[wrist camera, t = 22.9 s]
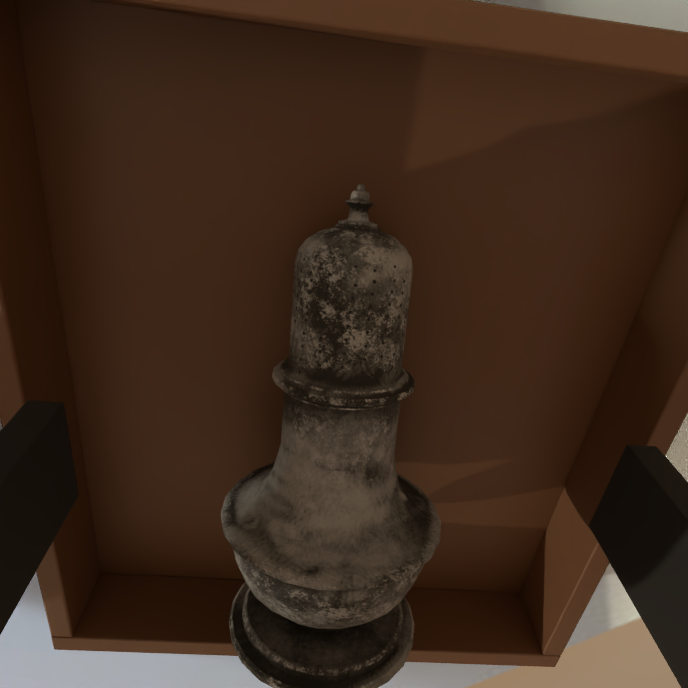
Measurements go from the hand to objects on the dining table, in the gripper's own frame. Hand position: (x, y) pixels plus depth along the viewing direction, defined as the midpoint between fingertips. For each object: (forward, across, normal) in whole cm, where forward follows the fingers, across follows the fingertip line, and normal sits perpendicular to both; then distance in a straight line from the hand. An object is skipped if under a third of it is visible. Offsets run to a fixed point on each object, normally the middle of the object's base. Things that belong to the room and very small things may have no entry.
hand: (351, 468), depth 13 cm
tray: (+4, 0, 0) cm, 4 cm away
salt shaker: (0, 0, -6) cm, 6 cm away
